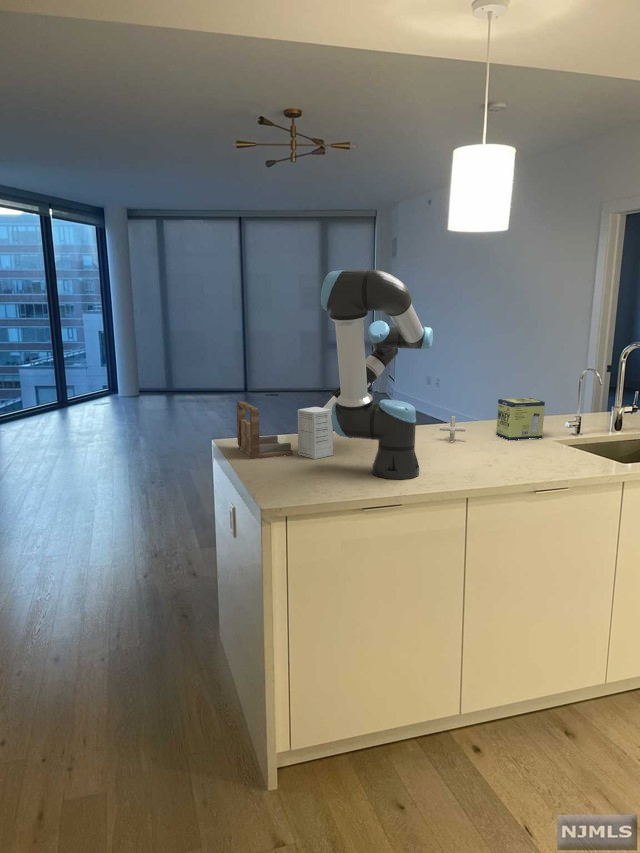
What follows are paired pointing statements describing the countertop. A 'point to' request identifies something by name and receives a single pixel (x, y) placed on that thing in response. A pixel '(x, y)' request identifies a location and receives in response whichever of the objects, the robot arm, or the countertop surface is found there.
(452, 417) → the pipe connector
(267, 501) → the countertop surface
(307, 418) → the supplement box
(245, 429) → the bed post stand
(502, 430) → the protein box
